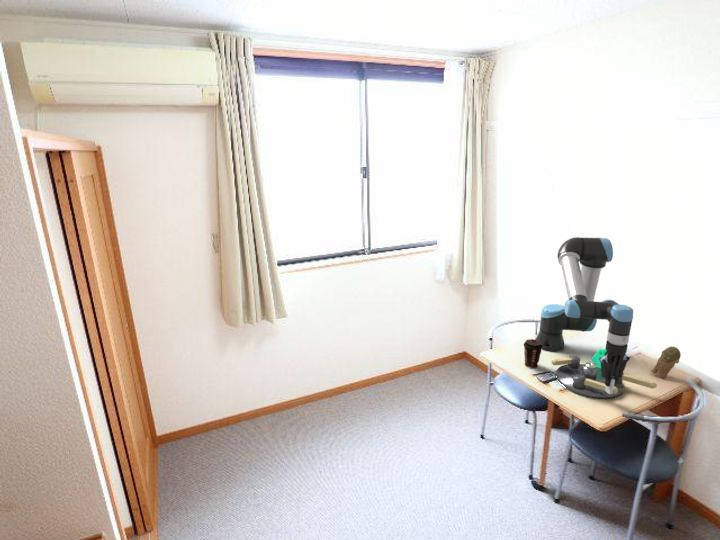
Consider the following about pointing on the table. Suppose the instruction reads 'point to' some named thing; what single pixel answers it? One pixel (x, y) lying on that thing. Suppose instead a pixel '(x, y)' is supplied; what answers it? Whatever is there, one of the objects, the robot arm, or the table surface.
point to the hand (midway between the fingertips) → (608, 392)
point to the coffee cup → (532, 353)
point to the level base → (588, 390)
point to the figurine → (666, 361)
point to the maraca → (568, 361)
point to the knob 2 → (636, 381)
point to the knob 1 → (588, 383)
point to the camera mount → (596, 357)
